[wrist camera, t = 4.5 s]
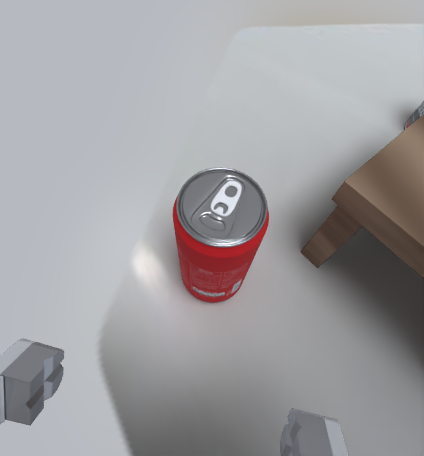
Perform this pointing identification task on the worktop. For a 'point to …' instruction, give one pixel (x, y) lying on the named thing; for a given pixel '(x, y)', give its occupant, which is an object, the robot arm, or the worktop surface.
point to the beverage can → (218, 231)
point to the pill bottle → (415, 115)
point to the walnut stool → (381, 203)
